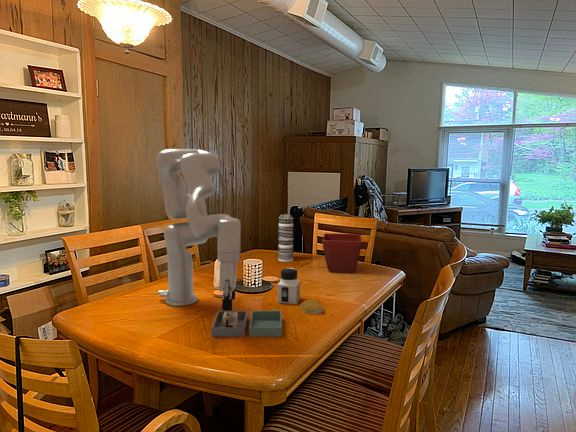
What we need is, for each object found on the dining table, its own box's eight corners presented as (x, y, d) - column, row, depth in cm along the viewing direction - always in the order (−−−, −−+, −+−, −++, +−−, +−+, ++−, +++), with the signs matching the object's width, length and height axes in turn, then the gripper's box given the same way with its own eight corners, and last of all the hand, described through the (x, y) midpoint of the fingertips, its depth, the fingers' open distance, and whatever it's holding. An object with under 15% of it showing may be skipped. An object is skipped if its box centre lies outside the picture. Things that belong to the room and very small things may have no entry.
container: (296, 304, 171) (296, 272, 169) (277, 303, 173) (277, 271, 171) (300, 298, 179) (300, 267, 177) (281, 296, 180) (281, 266, 178)
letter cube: (222, 330, 145) (222, 316, 144) (224, 324, 150) (224, 311, 149) (236, 329, 145) (236, 316, 144) (237, 324, 150) (237, 311, 149)
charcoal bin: (211, 338, 140) (211, 328, 139) (217, 320, 155) (217, 311, 154) (244, 338, 140) (244, 328, 140) (247, 320, 155) (247, 310, 154)
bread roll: (306, 317, 159) (306, 307, 158) (297, 309, 167) (297, 299, 166) (327, 314, 162) (327, 304, 161) (317, 306, 170) (317, 296, 169)
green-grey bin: (249, 338, 140) (249, 327, 140) (251, 320, 155) (251, 310, 154) (281, 338, 140) (281, 327, 140) (281, 320, 155) (281, 310, 155)
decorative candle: (276, 261, 237) (275, 215, 233) (279, 257, 246) (279, 213, 242) (292, 262, 236) (292, 216, 232) (295, 258, 245) (295, 213, 241)
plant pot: (323, 263, 232) (324, 232, 230) (360, 265, 230) (361, 233, 227) (321, 273, 214) (322, 240, 211) (361, 275, 211) (362, 241, 209)
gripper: (220, 248, 152) (220, 295, 155) (213, 262, 135) (214, 314, 138) (242, 249, 152) (242, 295, 155) (238, 263, 135) (237, 315, 138)
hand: (228, 304), depth 147 cm, fingers open, 9 cm apart
